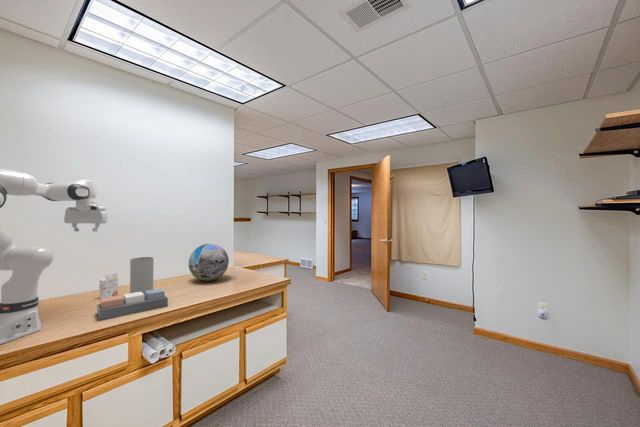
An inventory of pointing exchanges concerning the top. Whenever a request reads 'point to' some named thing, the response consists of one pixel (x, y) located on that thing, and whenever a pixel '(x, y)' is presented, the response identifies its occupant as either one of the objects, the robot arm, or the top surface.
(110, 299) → the terracotta key
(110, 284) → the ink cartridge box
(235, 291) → the top surface
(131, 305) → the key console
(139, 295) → the white key
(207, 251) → the grey textured ball
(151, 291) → the slate key
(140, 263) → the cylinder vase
